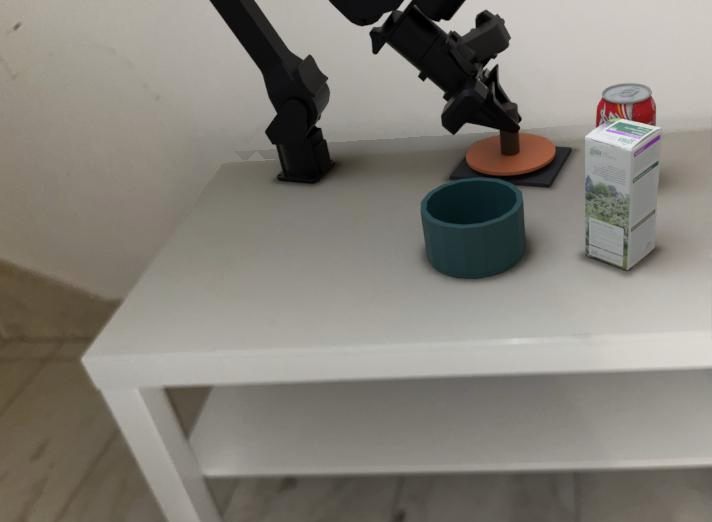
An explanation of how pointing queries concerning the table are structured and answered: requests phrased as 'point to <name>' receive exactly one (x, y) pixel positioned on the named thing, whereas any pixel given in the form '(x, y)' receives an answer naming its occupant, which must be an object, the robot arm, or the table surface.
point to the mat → (533, 178)
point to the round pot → (474, 227)
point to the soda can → (627, 104)
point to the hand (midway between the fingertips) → (519, 126)
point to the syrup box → (621, 191)
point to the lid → (510, 151)
